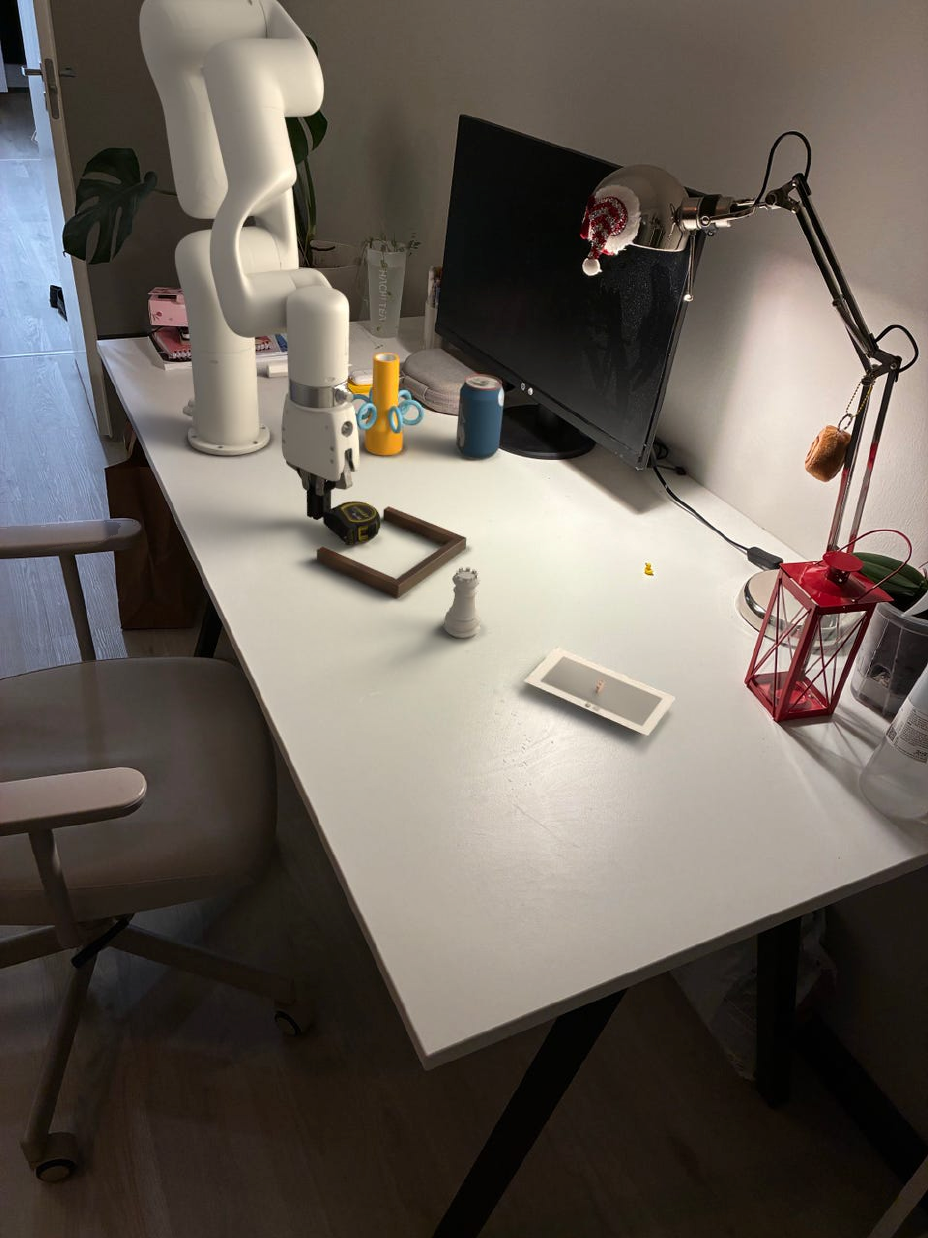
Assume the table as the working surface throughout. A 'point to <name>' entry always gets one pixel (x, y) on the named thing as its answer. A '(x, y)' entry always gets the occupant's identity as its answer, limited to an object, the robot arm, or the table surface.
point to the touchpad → (601, 690)
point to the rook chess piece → (463, 605)
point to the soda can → (480, 416)
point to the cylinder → (385, 408)
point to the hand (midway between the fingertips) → (319, 514)
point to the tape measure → (353, 522)
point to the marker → (279, 369)
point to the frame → (414, 575)
